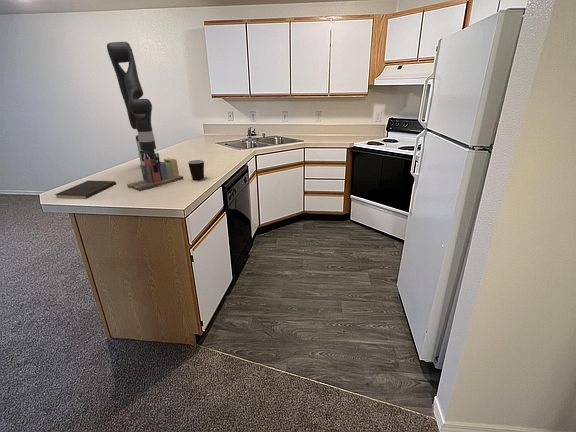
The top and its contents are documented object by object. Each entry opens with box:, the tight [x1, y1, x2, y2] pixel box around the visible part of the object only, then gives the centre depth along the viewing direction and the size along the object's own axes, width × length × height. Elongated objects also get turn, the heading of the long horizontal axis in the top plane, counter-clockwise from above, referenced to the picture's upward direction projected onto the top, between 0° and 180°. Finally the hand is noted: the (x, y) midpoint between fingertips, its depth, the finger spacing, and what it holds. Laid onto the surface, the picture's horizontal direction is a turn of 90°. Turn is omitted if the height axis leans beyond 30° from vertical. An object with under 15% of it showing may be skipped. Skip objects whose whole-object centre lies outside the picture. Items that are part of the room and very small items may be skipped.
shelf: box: [126, 157, 184, 192], centre depth 166 cm, size 12×26×11 cm, turn 143°
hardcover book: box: [54, 180, 117, 199], centre depth 157 cm, size 16×23×2 cm
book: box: [144, 158, 161, 182], centre depth 165 cm, size 6×4×12 cm, turn 53°
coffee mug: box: [187, 159, 205, 182], centre depth 174 cm, size 12×9×10 cm
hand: (152, 171), depth 165 cm, fingers open, 7 cm apart
